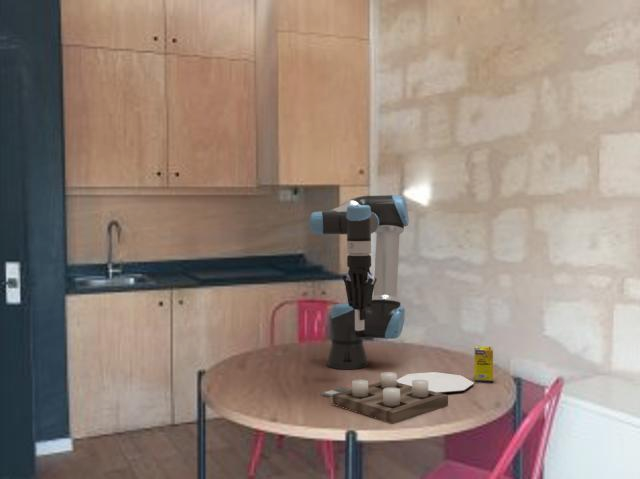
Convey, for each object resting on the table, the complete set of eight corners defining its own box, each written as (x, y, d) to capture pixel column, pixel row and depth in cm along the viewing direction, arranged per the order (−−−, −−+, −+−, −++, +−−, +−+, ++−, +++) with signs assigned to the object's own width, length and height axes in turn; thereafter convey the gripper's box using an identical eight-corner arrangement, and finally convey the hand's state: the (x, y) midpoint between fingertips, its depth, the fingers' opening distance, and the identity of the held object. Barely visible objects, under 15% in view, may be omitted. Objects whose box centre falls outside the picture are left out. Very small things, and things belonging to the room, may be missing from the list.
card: (320, 394, 210) (320, 392, 210) (341, 389, 216) (341, 386, 216) (340, 400, 203) (340, 398, 203) (361, 394, 209) (361, 392, 209)
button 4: (408, 395, 198) (408, 381, 198) (419, 391, 201) (419, 378, 201) (421, 398, 194) (421, 384, 194) (431, 395, 198) (431, 381, 197)
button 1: (348, 394, 199) (348, 381, 199) (360, 391, 202) (360, 378, 202) (360, 398, 195) (360, 384, 195) (371, 394, 199) (371, 381, 198)
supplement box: (493, 383, 221) (493, 350, 221) (474, 382, 222) (474, 349, 222) (492, 378, 227) (492, 346, 226) (474, 377, 228) (474, 346, 228)
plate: (455, 400, 204) (455, 395, 204) (386, 389, 216) (386, 385, 216) (481, 382, 224) (481, 377, 224) (416, 373, 236) (416, 369, 236)
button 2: (377, 386, 207) (377, 374, 207) (388, 384, 210) (388, 371, 210) (389, 389, 204) (389, 376, 203) (399, 386, 207) (399, 374, 207)
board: (332, 404, 199) (332, 394, 199) (387, 389, 215) (387, 380, 215) (393, 423, 181) (393, 412, 181) (448, 405, 197) (448, 395, 197)
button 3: (379, 403, 190) (379, 389, 189) (391, 400, 193) (390, 386, 193) (392, 407, 186) (392, 393, 186) (403, 403, 189) (403, 389, 189)
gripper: (336, 254, 211) (336, 328, 212) (365, 256, 201) (366, 334, 202) (353, 253, 216) (353, 326, 217) (382, 254, 206) (383, 331, 207)
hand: (359, 329), depth 209 cm, fingers closed
